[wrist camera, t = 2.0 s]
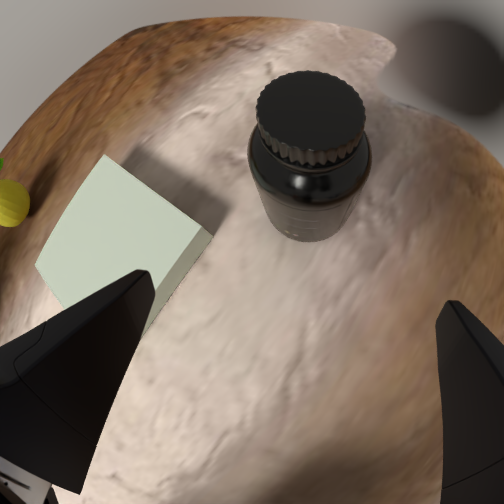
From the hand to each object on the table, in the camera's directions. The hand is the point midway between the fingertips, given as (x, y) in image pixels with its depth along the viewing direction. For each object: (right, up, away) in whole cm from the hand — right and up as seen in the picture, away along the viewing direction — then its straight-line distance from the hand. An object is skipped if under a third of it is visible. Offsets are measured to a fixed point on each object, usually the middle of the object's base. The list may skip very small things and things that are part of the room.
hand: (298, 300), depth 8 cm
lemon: (-30, +6, +20) cm, 36 cm away
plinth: (-13, +1, +16) cm, 21 cm away
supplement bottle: (+3, +5, +15) cm, 16 cm away
